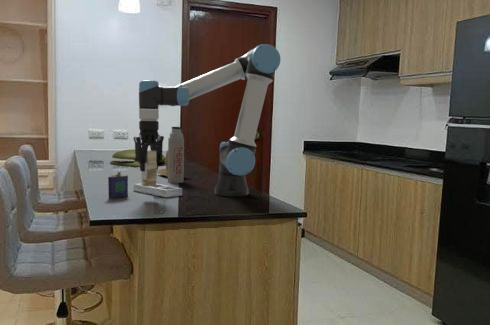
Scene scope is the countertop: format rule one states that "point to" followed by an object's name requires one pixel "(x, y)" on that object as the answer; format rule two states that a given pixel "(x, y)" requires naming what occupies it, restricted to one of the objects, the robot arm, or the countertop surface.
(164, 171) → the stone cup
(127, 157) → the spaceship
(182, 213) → the countertop surface
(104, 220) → the countertop surface
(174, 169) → the thermos bottle
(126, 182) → the flask
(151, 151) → the birch peg
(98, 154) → the countertop surface
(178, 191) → the white compartment tray
